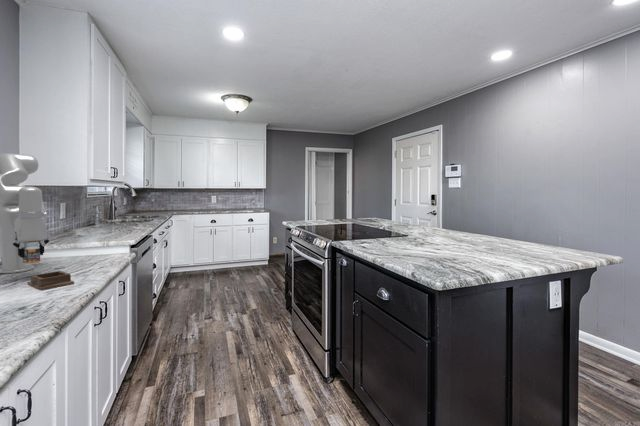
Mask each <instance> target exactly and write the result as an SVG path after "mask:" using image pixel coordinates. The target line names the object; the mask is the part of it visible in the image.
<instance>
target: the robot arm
mask: <svg viewBox="0 0 640 426" xmlns="http://www.w3.org/2000/svg"><path fill="white" fill-rule="evenodd" d="M38 169H39V162H38V159H37V158H36V157H35V156H33V155H31V154H20V153H10V152H9V153H7V152H6V153H1V154H0V244H1V245H0V246H1V263H2V265H1V266H2V267H1V268H0V274H16V273H23V272H28V271H32V270H34V269H35V266H34V264H32V265H25V264H23V258H24V249H23V247H25V245H24V243H25V242H31V241H38V246H39V247H40V256H44V253H45V246H46V245H47V244H48V243H50V241H51V240H53V239H54V237H53V236H52V234H50V233H49V232H48V231H47V225H46V222H47V219H48V212H47V209H46V207H45V204H44V200H43V192H42V189H41V188H38V187H36V186H31V185H30V186H25V185H19V184H22V183H24V182H25V181H27V180H28V178H29V175H31V174H34V173H36V172H37V171H38Z"/></svg>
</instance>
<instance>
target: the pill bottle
mask: <svg viewBox="0 0 640 426" xmlns="http://www.w3.org/2000/svg"><path fill="white" fill-rule="evenodd" d="M24 245H25V247H23V249H24V258H23V264H25V265H38V264H39V263H40V262H41V255H40V247H39V242H38V241H31V242H25V243H24Z"/></svg>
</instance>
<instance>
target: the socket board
mask: <svg viewBox="0 0 640 426" xmlns="http://www.w3.org/2000/svg"><path fill="white" fill-rule="evenodd" d="M71 278H72V277H71V273H67V272H66V271H62V270H57V271H56V270H55V271H50V272H44V273H39V274H33V275H30V281H28V282H27V285H28V286H30V287H32V288H34V289H37V290H39V291H47V290H51V289H56V288H60V287H66V286H71V285H75V281H74V280H71Z"/></svg>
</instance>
